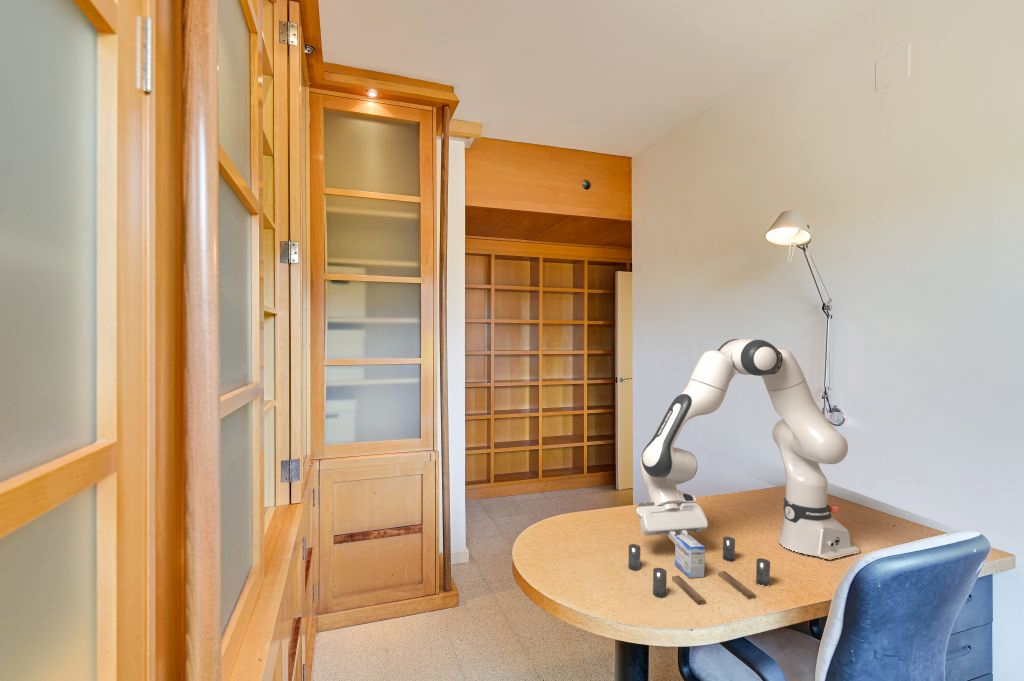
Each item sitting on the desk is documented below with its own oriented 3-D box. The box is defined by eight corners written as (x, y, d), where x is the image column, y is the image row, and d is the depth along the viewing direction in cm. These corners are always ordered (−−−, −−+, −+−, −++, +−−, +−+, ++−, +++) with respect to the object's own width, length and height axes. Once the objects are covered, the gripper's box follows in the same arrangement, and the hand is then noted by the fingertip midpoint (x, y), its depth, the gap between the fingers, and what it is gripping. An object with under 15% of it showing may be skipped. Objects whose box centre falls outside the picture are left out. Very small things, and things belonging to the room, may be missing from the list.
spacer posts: (729, 556, 144) (730, 536, 144) (772, 586, 127) (773, 563, 127) (626, 565, 137) (626, 544, 137) (656, 598, 120) (657, 574, 120)
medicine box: (674, 565, 138) (675, 534, 138) (688, 563, 139) (689, 533, 139) (689, 579, 130) (690, 547, 130) (704, 577, 131) (705, 545, 131)
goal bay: (724, 574, 133) (725, 571, 133) (755, 598, 121) (755, 594, 121) (671, 579, 130) (672, 576, 130) (698, 604, 118) (698, 600, 118)
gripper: (638, 498, 144) (653, 546, 135) (699, 495, 148) (718, 540, 139) (631, 508, 149) (645, 554, 139) (691, 504, 153) (709, 549, 143)
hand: (682, 547), depth 139 cm, fingers closed, pressing on medicine box
